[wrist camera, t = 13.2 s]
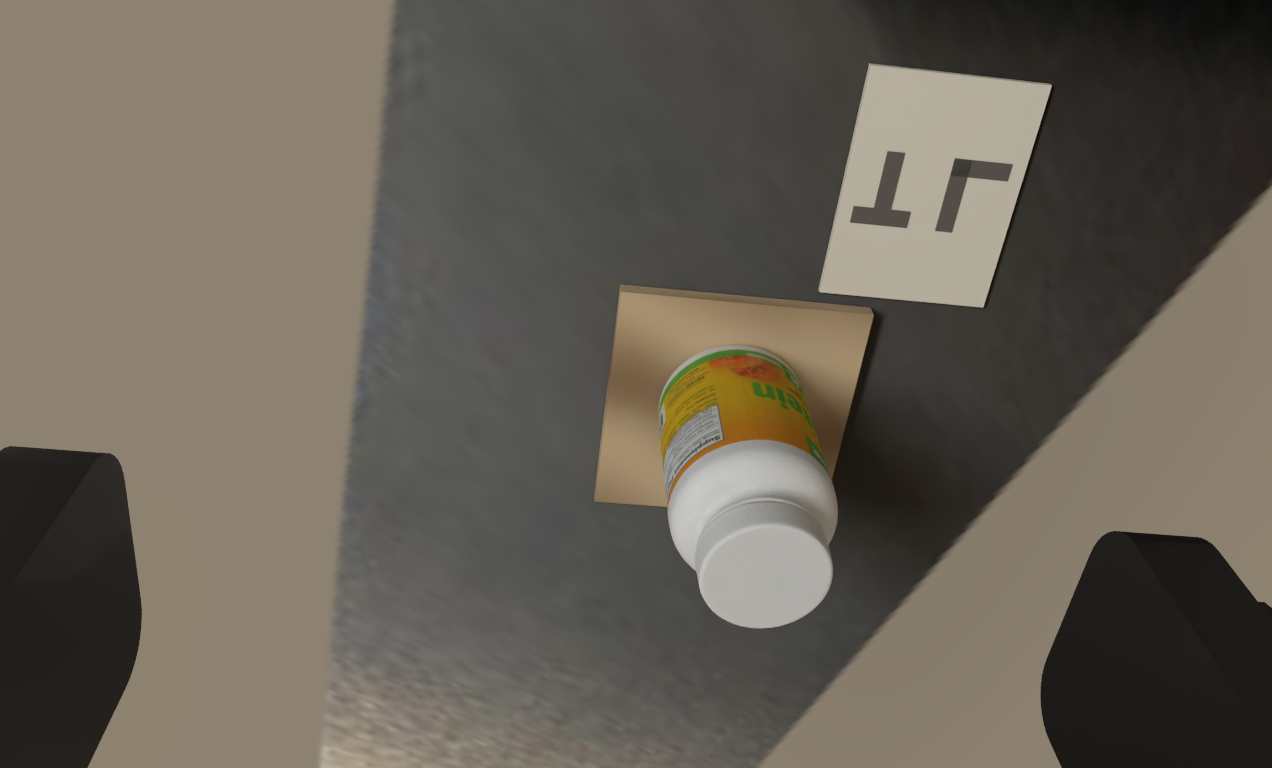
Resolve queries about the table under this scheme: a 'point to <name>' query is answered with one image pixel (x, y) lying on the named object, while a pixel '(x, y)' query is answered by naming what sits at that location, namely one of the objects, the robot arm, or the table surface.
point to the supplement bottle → (747, 485)
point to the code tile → (931, 184)
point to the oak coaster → (696, 321)
